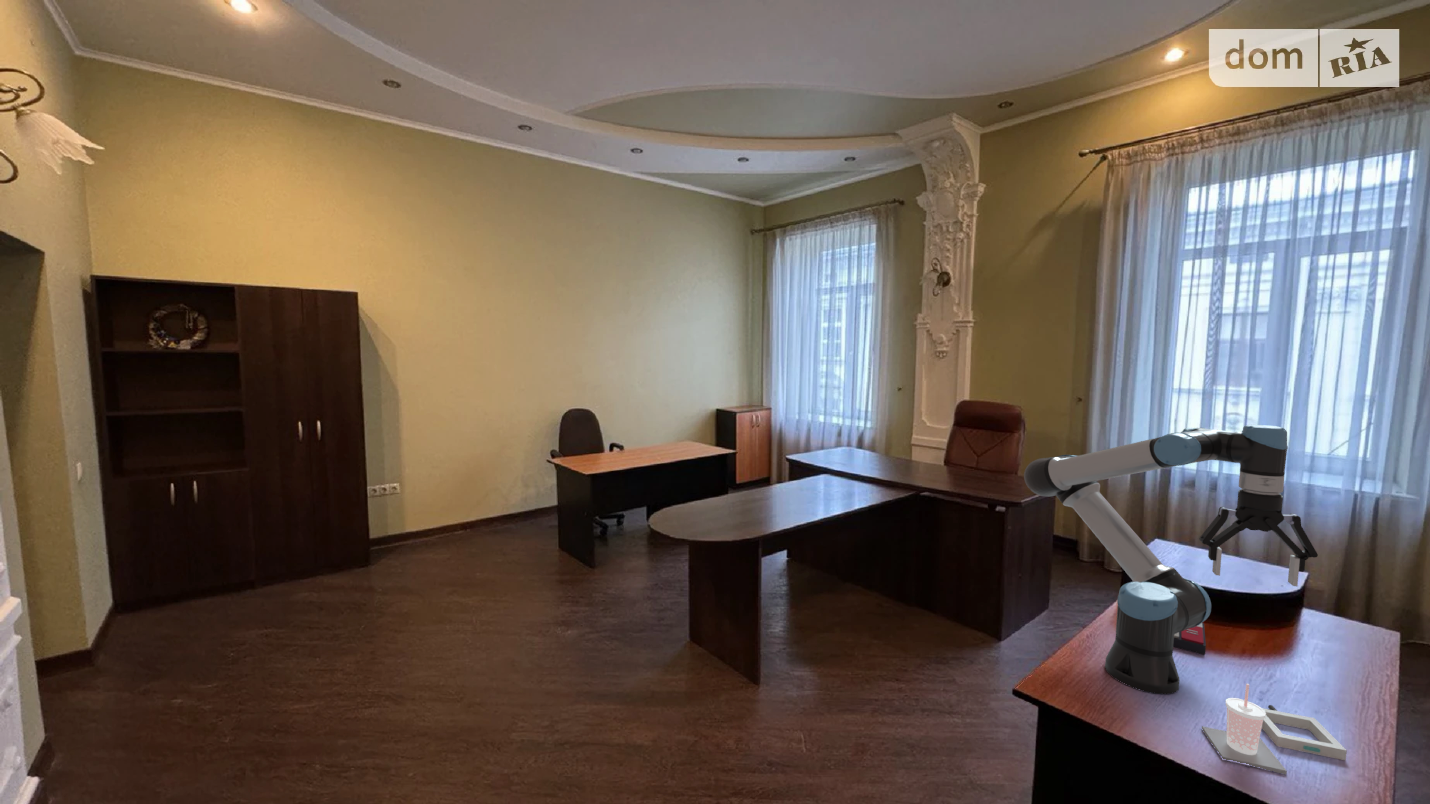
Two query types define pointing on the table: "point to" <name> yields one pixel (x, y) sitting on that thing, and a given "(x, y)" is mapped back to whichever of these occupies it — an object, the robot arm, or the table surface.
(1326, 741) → the beige flat rectangular frame
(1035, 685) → the table surface
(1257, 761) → the coaster pad
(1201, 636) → the red and black box
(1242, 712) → the beverage cup
